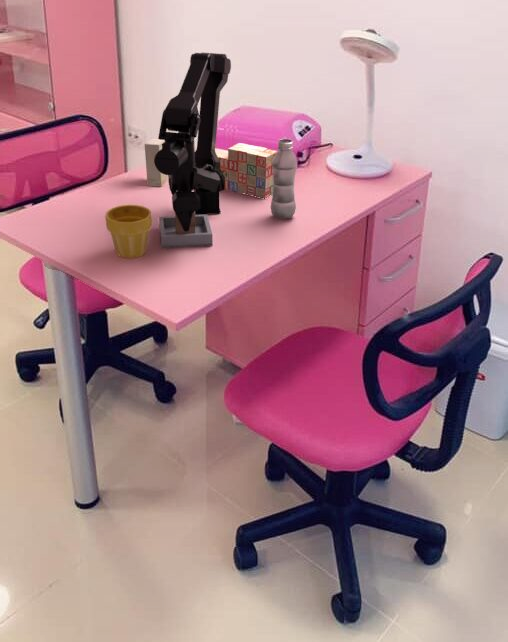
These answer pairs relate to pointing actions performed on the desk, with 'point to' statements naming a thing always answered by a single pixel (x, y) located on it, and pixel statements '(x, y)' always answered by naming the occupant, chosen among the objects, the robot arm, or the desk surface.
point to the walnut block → (180, 230)
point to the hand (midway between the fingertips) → (184, 223)
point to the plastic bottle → (284, 180)
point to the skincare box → (152, 173)
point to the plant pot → (129, 229)
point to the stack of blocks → (247, 169)
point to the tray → (185, 240)
